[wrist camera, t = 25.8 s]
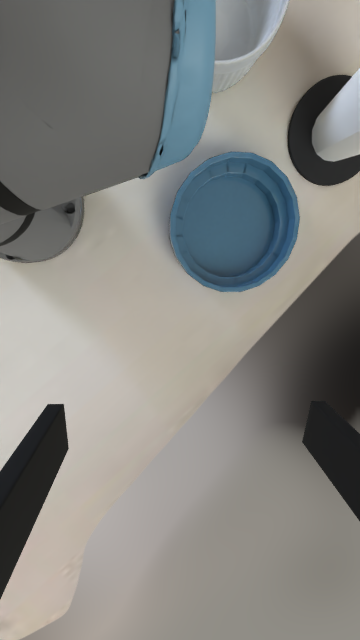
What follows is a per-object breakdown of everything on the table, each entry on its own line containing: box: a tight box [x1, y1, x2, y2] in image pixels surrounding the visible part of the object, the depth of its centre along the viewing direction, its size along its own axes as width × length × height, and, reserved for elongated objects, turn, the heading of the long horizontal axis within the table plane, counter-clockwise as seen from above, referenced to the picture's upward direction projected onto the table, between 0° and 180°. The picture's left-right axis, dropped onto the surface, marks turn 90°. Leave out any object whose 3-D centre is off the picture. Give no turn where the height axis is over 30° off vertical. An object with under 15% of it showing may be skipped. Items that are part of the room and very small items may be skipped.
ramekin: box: [212, 0, 290, 93], centre depth 25 cm, size 13×13×7 cm
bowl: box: [169, 152, 300, 292], centre depth 32 cm, size 16×16×4 cm
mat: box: [288, 75, 360, 186], centre depth 32 cm, size 12×12×1 cm
